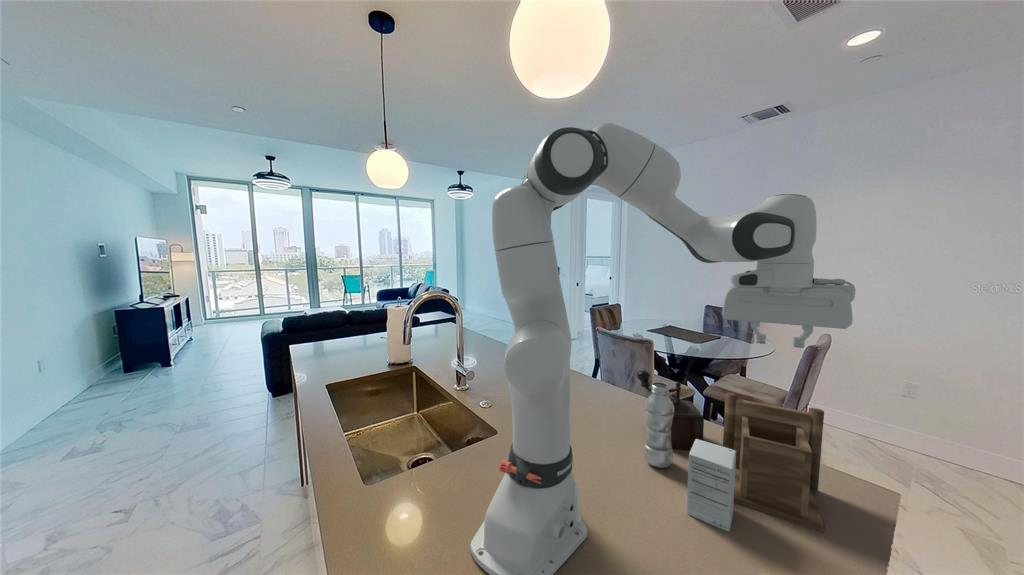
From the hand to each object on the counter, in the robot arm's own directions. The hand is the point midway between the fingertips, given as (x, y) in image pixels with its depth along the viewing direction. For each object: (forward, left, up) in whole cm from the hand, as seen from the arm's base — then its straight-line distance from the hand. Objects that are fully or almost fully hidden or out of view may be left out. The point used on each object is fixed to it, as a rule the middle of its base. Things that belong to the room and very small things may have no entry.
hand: (779, 345), depth 67 cm
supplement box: (-13, +10, -33) cm, 37 cm away
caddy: (0, 0, -32) cm, 33 cm away
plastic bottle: (-2, +22, -33) cm, 39 cm away
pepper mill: (+12, +22, -33) cm, 41 cm away
